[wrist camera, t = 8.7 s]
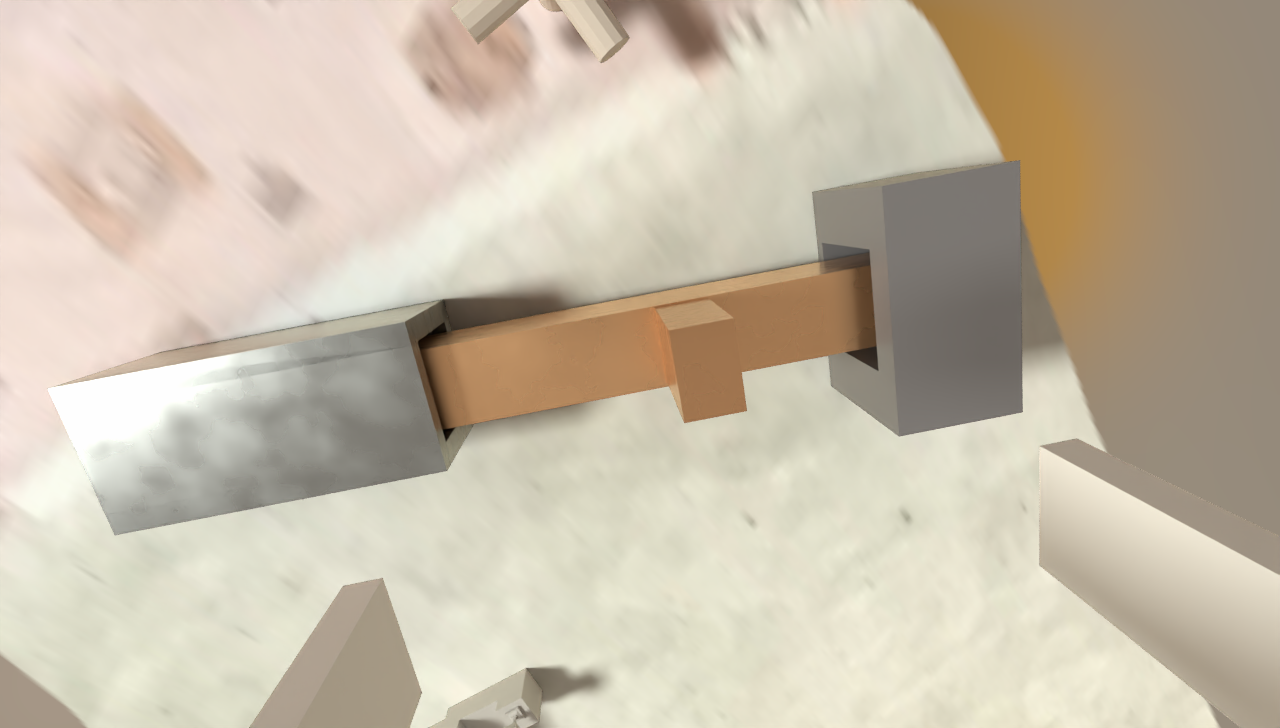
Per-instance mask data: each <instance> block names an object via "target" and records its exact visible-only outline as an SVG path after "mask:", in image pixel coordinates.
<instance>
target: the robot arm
mask: <svg viewBox="0 0 1280 728" xmlns="http://www.w3.org/2000/svg"><path fill="white" fill-rule="evenodd" d="M1039 565H1040V566H1041V567H1042V568H1043V569H1045V570H1046V571H1047V572H1048V573H1050V574H1051V575H1052V576H1053V577H1054V578H1056V579H1057V580H1058V581H1059V582H1061V583H1062V584H1063V585H1064V586H1066V587H1067V588H1068V589H1069V590H1071V591H1072V592H1073V593H1074V594H1076V595H1077V596H1078V597H1079V598H1080V599H1082V600H1083V601H1084V602H1085V603H1087V604H1088V605H1089V606H1090V607H1092V608H1093V609H1094V610H1095V611H1097V612H1098V613H1099V614H1100V615H1102V616H1103V617H1104V618H1105V619H1107V620H1108V621H1109V622H1110V623H1111V624H1113V625H1114V626H1115V627H1116V628H1118V629H1119V630H1120V631H1121V632H1123V633H1124V634H1125V635H1126V636H1128V637H1129V638H1130V639H1131V640H1133V641H1134V642H1135V643H1136V644H1138V645H1139V646H1140V647H1141V648H1142V649H1144V650H1145V651H1146V652H1147V653H1149V654H1150V655H1151V656H1152V657H1154V658H1155V659H1156V660H1157V661H1159V662H1160V663H1161V664H1162V665H1164V666H1165V667H1166V668H1167V669H1168V670H1170V671H1171V672H1172V673H1173V674H1175V675H1176V676H1177V677H1178V678H1180V679H1181V680H1182V681H1183V682H1185V683H1186V684H1187V685H1188V686H1190V687H1191V688H1192V689H1193V690H1195V691H1196V692H1197V693H1198V694H1199V695H1201V696H1202V697H1203V698H1204V699H1206V700H1207V701H1208V702H1209V703H1211V704H1212V705H1213V706H1214V707H1216V708H1217V709H1218V710H1219V711H1221V712H1222V713H1223V714H1224V715H1225V716H1227V717H1228V718H1229V719H1230V720H1232V721H1233V722H1234V723H1235V724H1237V725H1238V726H1239V727H1240V728H1280V536H1278V535H1276V534H1274V533H1272V532H1270V531H1268V530H1266V529H1264V528H1261V527H1259V526H1257V525H1255V524H1253V523H1251V522H1249V521H1247V520H1245V519H1243V518H1241V517H1239V516H1237V515H1234V514H1232V513H1230V512H1228V511H1226V510H1224V509H1222V508H1220V507H1218V506H1216V505H1214V504H1212V503H1209V502H1208V501H1205V500H1203V499H1201V498H1199V497H1197V496H1195V495H1193V494H1191V493H1189V492H1187V491H1185V490H1183V489H1180V488H1178V487H1176V486H1174V485H1172V484H1170V483H1168V482H1166V481H1164V480H1162V479H1160V478H1158V477H1156V476H1153V475H1151V474H1149V473H1147V472H1145V471H1143V470H1141V469H1139V468H1137V467H1135V466H1133V465H1131V464H1128V463H1126V462H1124V461H1122V460H1120V459H1118V458H1116V457H1114V456H1112V455H1110V454H1108V453H1106V452H1104V451H1102V450H1100V449H1097V448H1095V447H1093V446H1091V445H1089V444H1087V443H1085V442H1083V441H1081V440H1079V439H1072V440H1067V441H1062V442H1057V443H1052V444H1047V445H1042V446H1039ZM421 694H422V691H421V689H420V686H419V683H418V680H417V677H416V674H415V671H414V668H413V665H412V662H411V659H410V656H409V653H408V651H407V648H406V645H405V642H404V639H403V636H402V633H401V630H400V627H399V624H398V621H397V618H396V616H395V613H394V610H393V607H392V604H391V601H390V598H389V595H388V592H387V589H386V586H385V583H384V580H383V578H380V579H375V580H370V581H365V582H360V583H355V584H350V585H345V586H343V587H342V589H341V590H340V592H339V593H338V595H337V596H336V598H335V599H334V601H333V602H332V604H331V605H330V607H329V608H328V610H327V611H326V613H325V614H324V616H323V617H322V619H321V620H320V622H319V623H318V625H317V626H316V628H315V629H314V631H313V632H312V634H311V635H310V637H309V638H308V640H307V641H306V643H305V644H304V646H303V647H302V649H301V650H300V652H299V653H298V655H297V656H296V658H295V659H294V661H293V662H292V664H291V665H290V667H289V668H288V670H287V672H286V673H285V675H284V676H283V678H282V679H281V681H280V682H279V684H278V685H277V687H276V688H275V690H274V691H273V693H272V694H271V696H270V697H269V699H268V700H267V702H266V703H265V705H264V706H263V708H262V709H261V711H260V712H259V714H258V715H257V717H256V718H255V720H254V721H253V723H252V724H251V726H250V727H249V728H410V725H411V722H412V719H413V716H414V713H415V711H416V708H417V705H418V702H419V699H420V697H421Z"/></svg>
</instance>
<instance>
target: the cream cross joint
mask: <svg viewBox="0 0 1280 728" xmlns="http://www.w3.org/2000/svg"><path fill="white" fill-rule="evenodd" d="M527 1H529V0H460V1H459V2H458V3H457V4H456V5H454V6H453V7H452V8H451V9H452V11H453V12H454V13H455V15H456V16H457V18H458V19H459V20H460V21H461V23H462V24H463V25H464V27H465V28H466V29H467V31H468V32H469V33H470V35H471V36H472V37H473V38H474V40H475V41H476V42H477V43H478V44H479V43H480V42H482V41H483V40H484V39H485V38H486V37H487V36H488V35H490V34H491V33H492V32H493V31H494V30H495V29H496V28H498V27H499V26H500V25H501V24H502V23H503V22H504V21H506V20H507V19H508V18H509V17H510V16H511V15H512V14H514V13H515V12H516V11H517V10H518V9H519V8H520V7H522V6H523V5H524V4H525V3H526V2H527ZM539 1H540V3H541V5H542V6H543V7H544V8H546V9H547V10H549V11H556V12H557V11H561V10H562V11H563V12H564V13H565V15H566V16H567V17H568V19H569V20H570V22H571V23H572V24H573V26H574V27H575V29H576V30H577V31H578V33H579V34H580V35H581V37H582V38H583V40H584V41H585V42H586V44H587V45H588V47H589V48H590V49H591V51H592V52H593V53H594V55H595V56H596V58H597V59H598V60H599V62H600V63H603V62H605V61H606V60H608V59H609V58H611V57H612V56H613V55H614V54H615V53H617V52H618V51H619V50H620V49H621V48H622V47H623V46H624V45H625V43H626V42H627V41H628V39H629V36H628V34H627V33H626V31H625V30H624V29H623V27H622V26H621V24H620V23H619V21H618V20H617V19H616V17H615V16H614V14H613V13H612V11H611V10H610V9H609V7H608V6H607V4H606V3H605V1H604V0H539Z"/></svg>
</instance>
